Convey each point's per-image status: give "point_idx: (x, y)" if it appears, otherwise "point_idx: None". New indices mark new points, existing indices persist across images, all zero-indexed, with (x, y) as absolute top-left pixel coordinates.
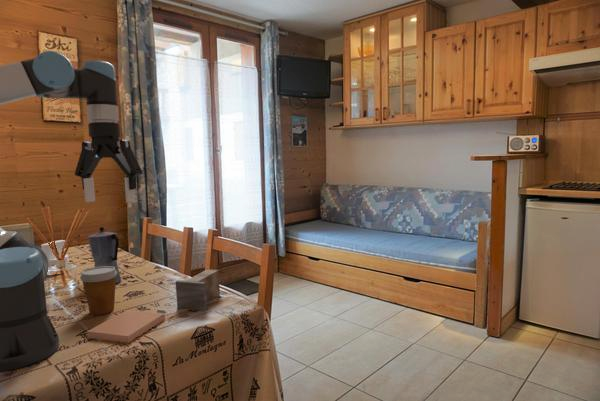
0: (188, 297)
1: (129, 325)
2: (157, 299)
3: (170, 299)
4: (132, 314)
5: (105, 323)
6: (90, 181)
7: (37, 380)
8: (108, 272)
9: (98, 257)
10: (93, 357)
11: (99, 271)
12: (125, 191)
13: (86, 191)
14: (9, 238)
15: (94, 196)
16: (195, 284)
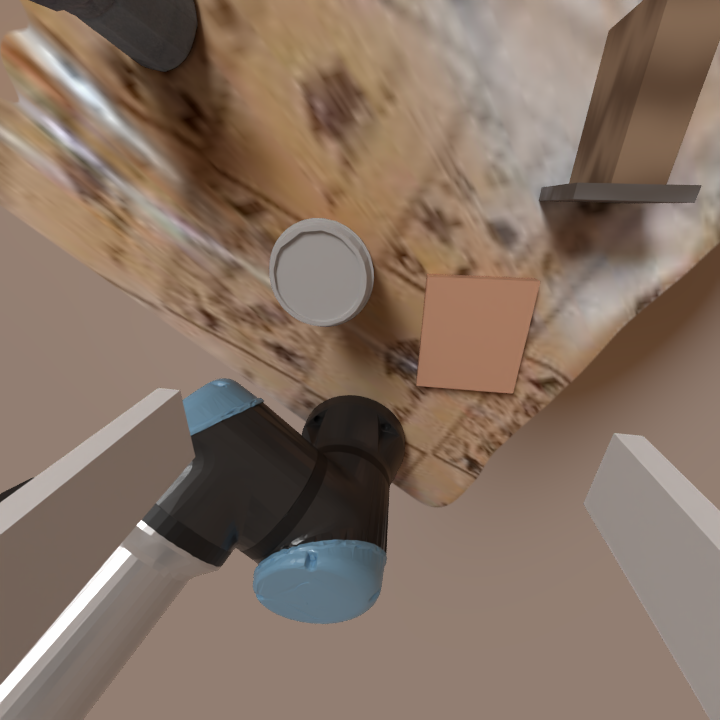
0: (597, 201)
1: (487, 353)
2: (441, 142)
3: (484, 131)
4: (459, 300)
5: (428, 352)
6: (3, 596)
7: (440, 484)
8: (365, 290)
9: (74, 4)
10: (476, 432)
11: (321, 278)
12: (644, 605)
13: (131, 529)
14: (206, 564)
15: (152, 417)
16: (656, 201)
